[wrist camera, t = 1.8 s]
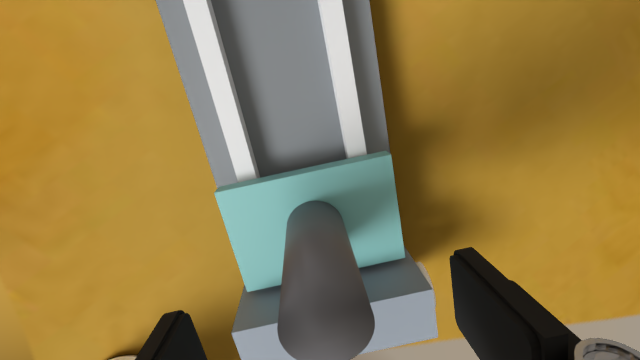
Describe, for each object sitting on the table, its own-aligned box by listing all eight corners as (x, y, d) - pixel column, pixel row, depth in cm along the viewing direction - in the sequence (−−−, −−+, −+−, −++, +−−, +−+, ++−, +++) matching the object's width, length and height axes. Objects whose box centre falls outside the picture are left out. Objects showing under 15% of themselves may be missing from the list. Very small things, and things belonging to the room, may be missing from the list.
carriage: (219, 186, 16) (146, 277, 8) (385, 150, 16) (464, 208, 8) (250, 281, 18) (213, 426, 10) (399, 248, 18) (474, 369, 10)
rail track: (128, -120, 14) (11, -261, 8) (346, -167, 14) (379, -339, 8) (261, 300, 21) (248, 378, 16) (406, 268, 21) (445, 335, 16)
